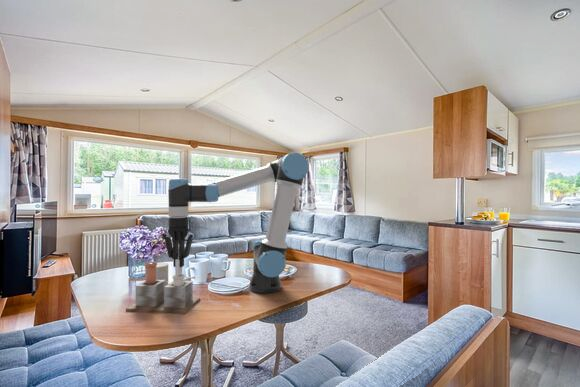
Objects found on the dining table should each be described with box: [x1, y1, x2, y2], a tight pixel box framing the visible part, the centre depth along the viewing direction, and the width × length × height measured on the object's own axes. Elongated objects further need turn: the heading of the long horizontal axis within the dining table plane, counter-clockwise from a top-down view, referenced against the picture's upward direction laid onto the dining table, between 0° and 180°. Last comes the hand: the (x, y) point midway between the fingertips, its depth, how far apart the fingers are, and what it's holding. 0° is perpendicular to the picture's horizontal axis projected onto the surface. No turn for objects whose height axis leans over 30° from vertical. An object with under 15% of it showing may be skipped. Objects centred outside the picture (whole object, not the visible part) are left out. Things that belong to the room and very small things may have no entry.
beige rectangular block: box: [156, 262, 169, 286], centre depth 135 cm, size 8×8×12 cm
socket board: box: [125, 280, 201, 315], centre depth 118 cm, size 24×14×9 cm, turn 84°
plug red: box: [144, 261, 158, 285], centre depth 118 cm, size 5×5×10 cm
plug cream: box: [172, 273, 186, 286], centre depth 117 cm, size 5×5×10 cm
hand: (178, 274), depth 117 cm, fingers closed
